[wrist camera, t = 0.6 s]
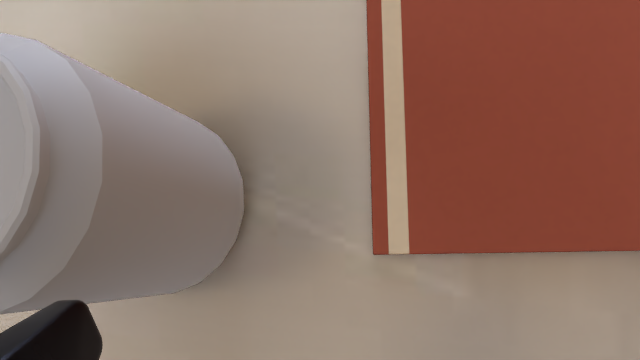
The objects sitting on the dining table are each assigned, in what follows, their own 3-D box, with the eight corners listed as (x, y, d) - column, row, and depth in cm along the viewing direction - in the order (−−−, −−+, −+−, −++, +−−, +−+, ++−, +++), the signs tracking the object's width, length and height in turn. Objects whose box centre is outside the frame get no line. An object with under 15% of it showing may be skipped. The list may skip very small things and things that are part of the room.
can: (69, 249, 26) (-250, 243, 14) (136, 96, 26) (-125, -32, 15) (208, 324, 24) (-33, 386, 12) (280, 157, 24) (109, 64, 12)
